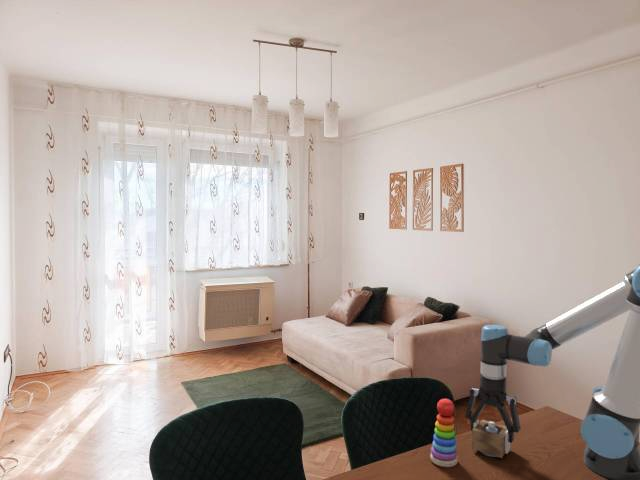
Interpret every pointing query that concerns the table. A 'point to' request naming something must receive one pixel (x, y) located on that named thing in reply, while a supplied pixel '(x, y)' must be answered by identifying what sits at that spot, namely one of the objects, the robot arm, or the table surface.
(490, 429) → the pale blue pawn
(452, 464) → the stacking toy
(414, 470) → the table surface
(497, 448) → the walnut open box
